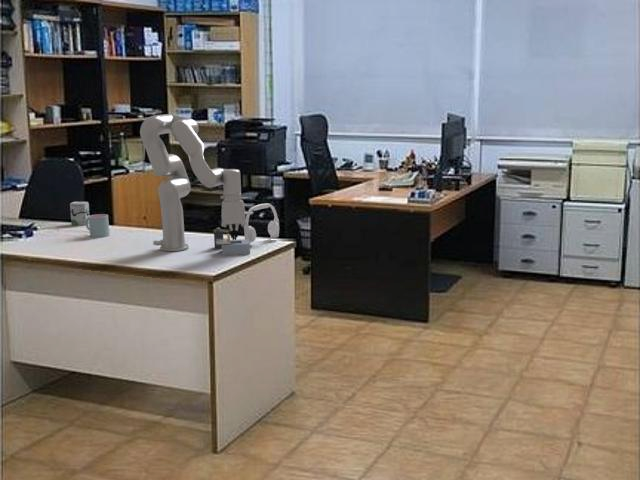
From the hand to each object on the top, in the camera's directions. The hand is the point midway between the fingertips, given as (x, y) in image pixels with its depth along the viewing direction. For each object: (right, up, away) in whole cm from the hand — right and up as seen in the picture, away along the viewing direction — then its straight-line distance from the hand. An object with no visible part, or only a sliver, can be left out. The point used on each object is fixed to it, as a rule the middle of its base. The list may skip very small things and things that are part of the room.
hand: (234, 239), depth 362 cm
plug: (-8, -4, +11) cm, 14 cm away
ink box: (-89, +8, +76) cm, 117 cm away
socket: (+1, -6, +1) cm, 6 cm away
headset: (+11, -2, +21) cm, 24 cm away
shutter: (-5, -1, 0) cm, 5 cm away
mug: (-73, +2, +46) cm, 86 cm away
